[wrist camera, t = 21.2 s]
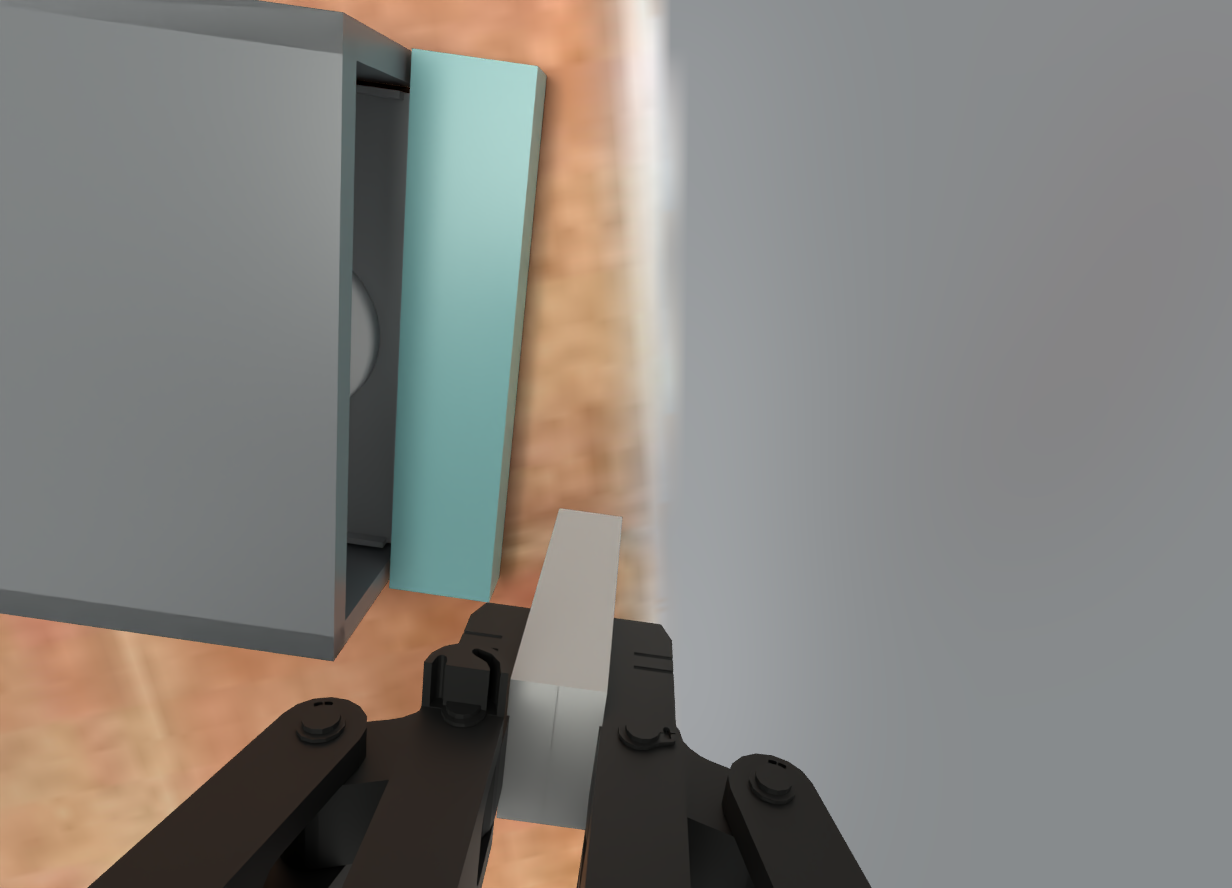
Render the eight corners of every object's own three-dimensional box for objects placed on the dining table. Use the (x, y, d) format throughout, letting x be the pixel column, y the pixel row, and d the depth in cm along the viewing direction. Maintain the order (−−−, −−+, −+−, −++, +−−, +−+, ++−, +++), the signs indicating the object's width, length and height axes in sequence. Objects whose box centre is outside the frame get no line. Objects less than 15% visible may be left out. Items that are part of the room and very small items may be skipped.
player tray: (184, 531, 40) (154, 554, 38) (156, 20, 32) (114, 6, 30) (499, 577, 40) (489, 602, 37) (546, 75, 32) (537, 66, 30)
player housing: (103, 518, 40) (-45, 606, 32) (55, 6, 32) (-159, -59, 24) (401, 560, 40) (333, 661, 32) (425, 59, 32) (343, 12, 24)
